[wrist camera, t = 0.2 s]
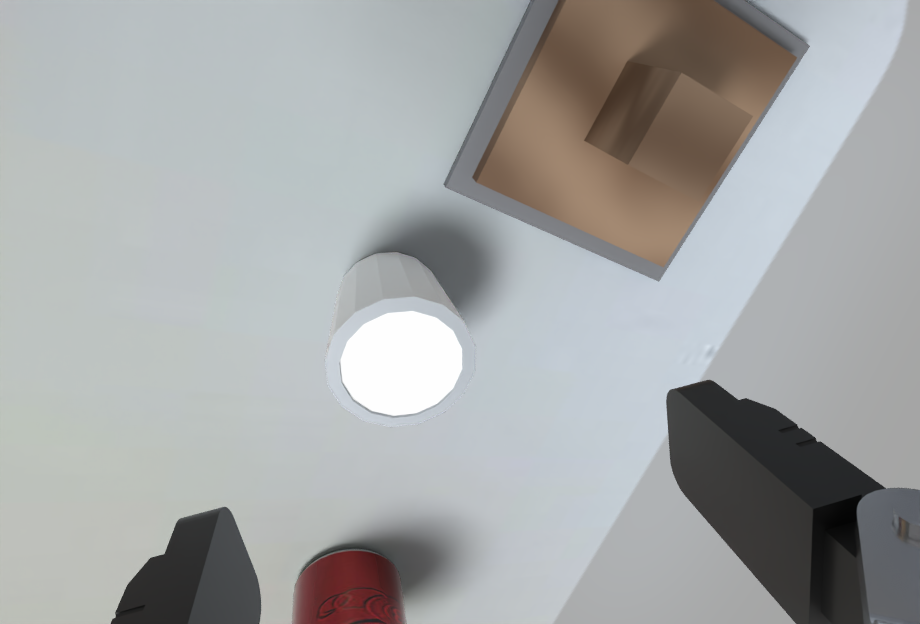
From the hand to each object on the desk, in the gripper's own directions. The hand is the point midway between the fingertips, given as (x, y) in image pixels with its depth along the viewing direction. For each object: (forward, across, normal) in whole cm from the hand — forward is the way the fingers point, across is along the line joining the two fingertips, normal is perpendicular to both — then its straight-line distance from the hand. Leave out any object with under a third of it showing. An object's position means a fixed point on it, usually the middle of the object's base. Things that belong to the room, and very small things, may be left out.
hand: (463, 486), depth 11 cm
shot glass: (+23, 0, +4) cm, 23 cm away
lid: (+21, -13, -3) cm, 25 cm away
